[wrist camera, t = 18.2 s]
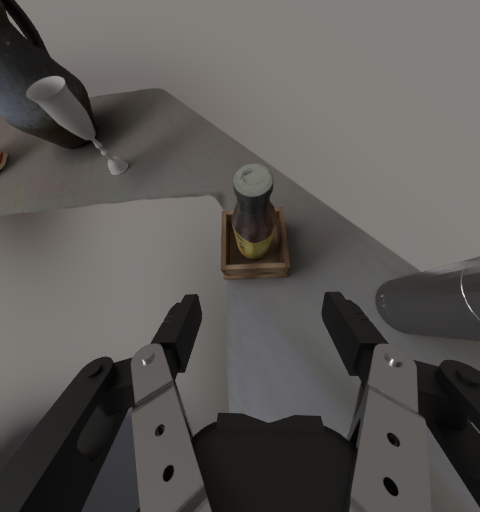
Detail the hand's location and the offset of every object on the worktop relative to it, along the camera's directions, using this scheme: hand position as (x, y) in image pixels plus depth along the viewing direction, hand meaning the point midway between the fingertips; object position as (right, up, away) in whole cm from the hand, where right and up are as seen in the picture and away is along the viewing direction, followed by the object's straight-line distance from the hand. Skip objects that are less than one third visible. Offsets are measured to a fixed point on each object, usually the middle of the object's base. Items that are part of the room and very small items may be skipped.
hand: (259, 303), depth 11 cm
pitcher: (-51, +41, +44) cm, 78 cm away
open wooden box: (+2, +4, +26) cm, 26 cm away
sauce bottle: (+2, +5, +25) cm, 25 cm away
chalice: (-35, +27, +37) cm, 58 cm away
